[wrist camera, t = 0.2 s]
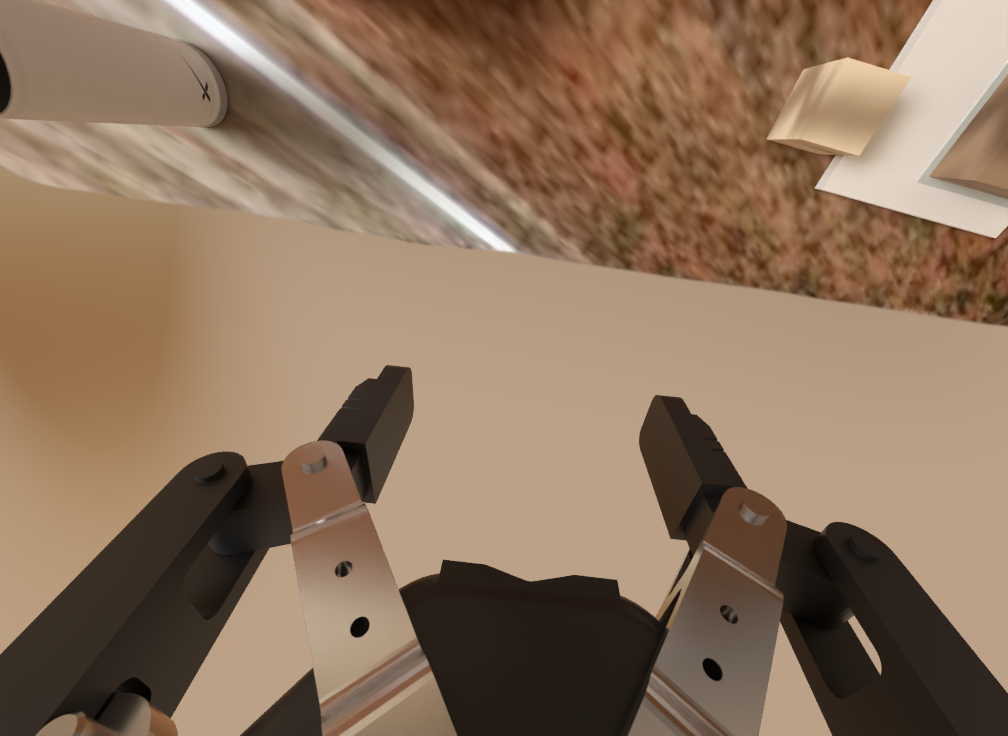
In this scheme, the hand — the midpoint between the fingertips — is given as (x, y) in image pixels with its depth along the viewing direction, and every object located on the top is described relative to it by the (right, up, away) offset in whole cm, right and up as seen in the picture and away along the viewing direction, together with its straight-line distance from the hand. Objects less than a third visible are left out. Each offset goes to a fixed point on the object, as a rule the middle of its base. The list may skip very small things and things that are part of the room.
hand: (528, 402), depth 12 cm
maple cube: (+26, +23, +19) cm, 39 cm away
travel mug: (-29, +27, +21) cm, 45 cm away
